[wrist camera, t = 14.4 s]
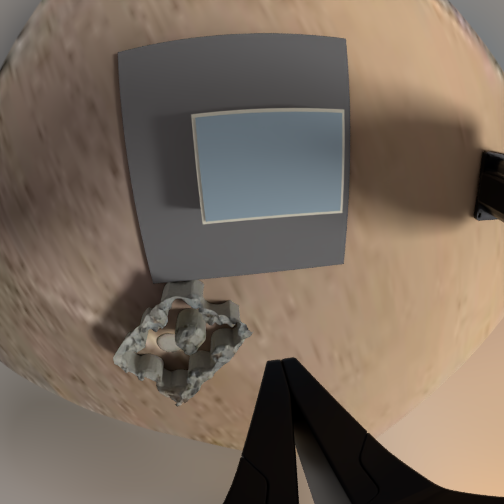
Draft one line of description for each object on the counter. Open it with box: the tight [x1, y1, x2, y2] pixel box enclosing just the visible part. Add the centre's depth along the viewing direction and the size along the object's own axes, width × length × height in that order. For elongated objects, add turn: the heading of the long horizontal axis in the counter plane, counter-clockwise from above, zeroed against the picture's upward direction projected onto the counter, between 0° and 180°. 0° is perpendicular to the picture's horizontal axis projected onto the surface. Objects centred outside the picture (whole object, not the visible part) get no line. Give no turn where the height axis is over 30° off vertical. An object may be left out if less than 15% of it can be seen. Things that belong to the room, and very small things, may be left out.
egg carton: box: [113, 280, 253, 406], centre depth 22 cm, size 11×8×4 cm
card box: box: [191, 108, 345, 224], centre depth 16 cm, size 3×6×8 cm
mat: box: [118, 33, 350, 283], centre depth 17 cm, size 14×16×1 cm
